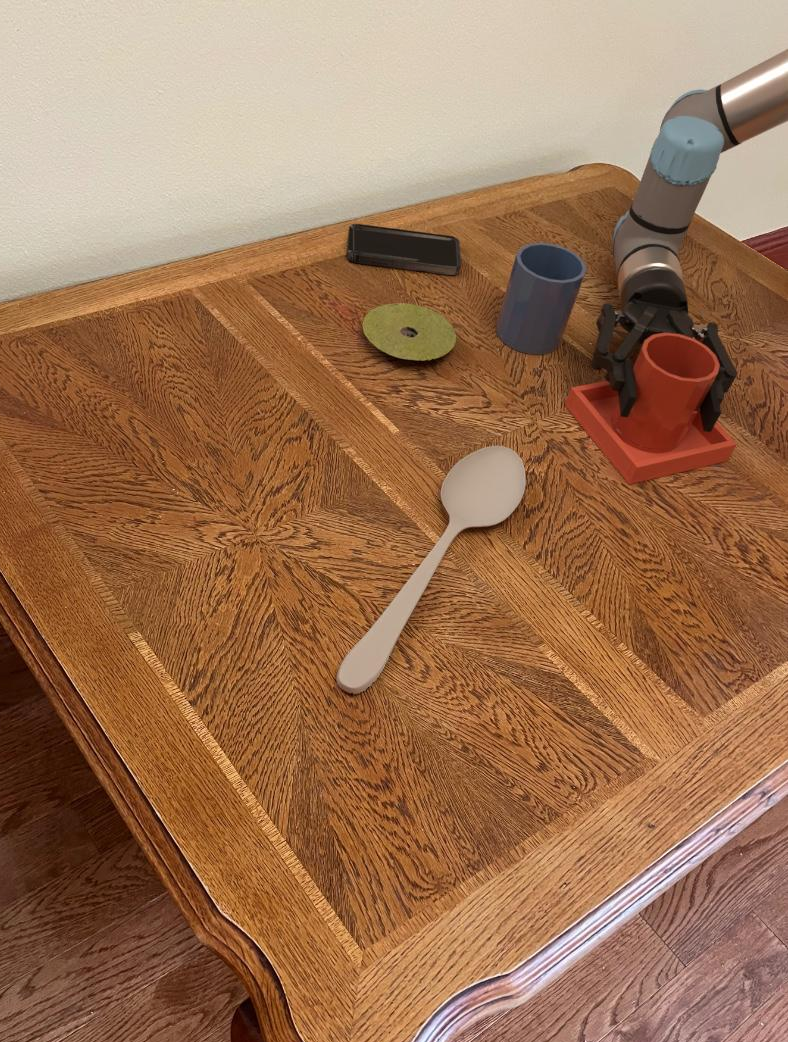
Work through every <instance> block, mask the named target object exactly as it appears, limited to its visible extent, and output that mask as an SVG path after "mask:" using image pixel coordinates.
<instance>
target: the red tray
mask: <svg viewBox="0 0 788 1042" xmlns="http://www.w3.org/2000/svg"><path fill="white" fill-rule="evenodd" d="M618 400H619V395H618V391H614V390H612V389H611V388H610V382H608V381H607V380H603V381H598V382H593V383H587V384H581V385H578V386H572V387H570V389H569V392H568V394H567V397H566V399H565V403H564V407H565V408H566V409H567V410H568V412H569V413H570V414H571V416H572V417H573V418H574V419H575V421H576V422H577V423H578V424H579V425H580V427H581V428H582V429H583V430H584V432H585V433H586V434H587V435H588V436H589V437H590V439H591V440H592V441H593V443H594V444H596V445H595V446H597V447H598V449H599V450H600V451H601V452H602V453H603V455H604V456H605V457H606V458H607V460H608V461H609V462H610V463H611V465H612V466H613V467H614V468H615V469H616V471H617V472H618V474H620V475H621V477H622V479H624V480H625V482H626V483H627V484H628V485H633V484H638V483H641V482H646V481H650V480H655V479H658V478H662V477H663V478H664V477H667V476H671V475H675V474H679V473H684V472H688V471H693V470H696V469H700V468H704V467H708V466H709V467H710V466H712V465H718V464H720V463H726V462H728V460H729V459H730V457H731V455H732V454H733V453H734V450H735V449H736V448H737V445H738V443H737V442H736V441H735V440H734V439H733V438H732V437H731V436H730V435H729V433H728V432H727V431H726V430H725V429H724V428H723V427H722V426H721V425H720V424H719V423H718V422H717V421H716V423H715V425H714V427H713V429H712V430H711V432H707V431H704V430H703V425H702V420H701V414H700V409H699V410H698V412H697V414H696V416H695V418H694V420H693V422H692V423H691V425H690V427H689V429H688V431H687V433H686V435H685V437H684V439H683V440H682V441H681V443H680V445H679V446H678V447H677V448H675V449H674V450H672V451H669V452H665V453H650V452H645V451H642V450H639V449H636V448H634V447H632V446H630V445H628V444H627V443H625V442H624V441H622V440H621V439H620V438H619V436H618V435H617V434H616V433H615V432H614V430H613V428H612V425H611V417H612V414H613V412H614V409H615V407H616V404H617V402H618Z"/></svg>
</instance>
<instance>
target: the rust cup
mask: <svg viewBox="0 0 788 1042" xmlns="http://www.w3.org/2000/svg"><path fill="white" fill-rule="evenodd" d="M719 367H720V364H719V362H718V359H717V357H716V355H715V354H714V353H713V352H712V351H711V350H710V349H709V348H708V347H707V346H706V345H704V344H702V343H700V342H699V341H697V340H695V338H694V337H693V338H690V337H687V336H684V335H681V334H674V333H660V334H654V335H652V336H650V337H649V338H647V339H646V340H645V341H644V343H643V344H641V347H640V350H639V352H638V354H637V356H636V359H635V361H634V363H633V371H634V379H635V388H636V396H637V398H636V400H635V403H634V405H633V407H632V409H631V411H630V413H629V416H628V418H627V417H621V415H620V405H619V400H618V402H617V404H616V407H615V409H614V412H613V414H612V417H611V425H612V428H613V430H614V432H615V433H616V434H617V435H618V436H619V438H620V439H621V440H622V441H624V442H625V443H627V444H628V445H630V446H632V447H634V448H636V449H639V450H642V451H645V452H650V453H665V452H669V451H672V450H674V449H675V448H677V447H678V446H679V445H680V443H681V441H682V440H683V439H684V437H685V435H686V433H687V431H688V429H689V427H690V425H691V423H692V422H693V420H694V418H695V416H696V414H697V412H698V410H699V408H700V406H701V404H702V403H703V401H704V399H705V397H706V395H707V393H708V391H709V389H710V387H711V386H712V384H713V382H714V380H715V378H716V376H717V374H718V371H719Z"/></svg>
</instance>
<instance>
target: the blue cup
mask: <svg viewBox="0 0 788 1042" xmlns="http://www.w3.org/2000/svg"><path fill="white" fill-rule="evenodd" d="M587 269H588V268H587V265H586V263H585V261H584V260H583V258H582V257H581V256H580V255H579V254H577V253H575V251H572V250H571V249H569V248H567V247H565V246H561V245H558V244H555V243H549V242H533V243H527V244H526V245H523V246H521V247H520V248H519V249H518V251H517V252H516V255H515V257H514V261H513V264H512V268H511V271H510V275H509V278H508V282H507V286H506V288H505V293H504V296H503V299H502V302H501V307H500V310H499V313H498V317H497V321H496V325H495V332H496V335H497V337H498V338H499V339H500V341H501V342H502V343H504V344H505V345H506V346H507V347H509V348H511V349H513V350H514V351H517V352H519V353H523V354H527V355H537V356H538V355H541V356H542V355H546V354H547V355H548V354H550V353H552V352H554V351H557V349H558V348H559V347H560V345H561V343H562V339H563V338H564V335H565V333H566V329H567V326H568V324H569V321H570V318H571V315H572V313H573V309H574V307H575V304H576V301H577V298H578V295H579V293H580V290H581V286H582V284H583V282H584V278H585V276H586V274H587Z"/></svg>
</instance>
